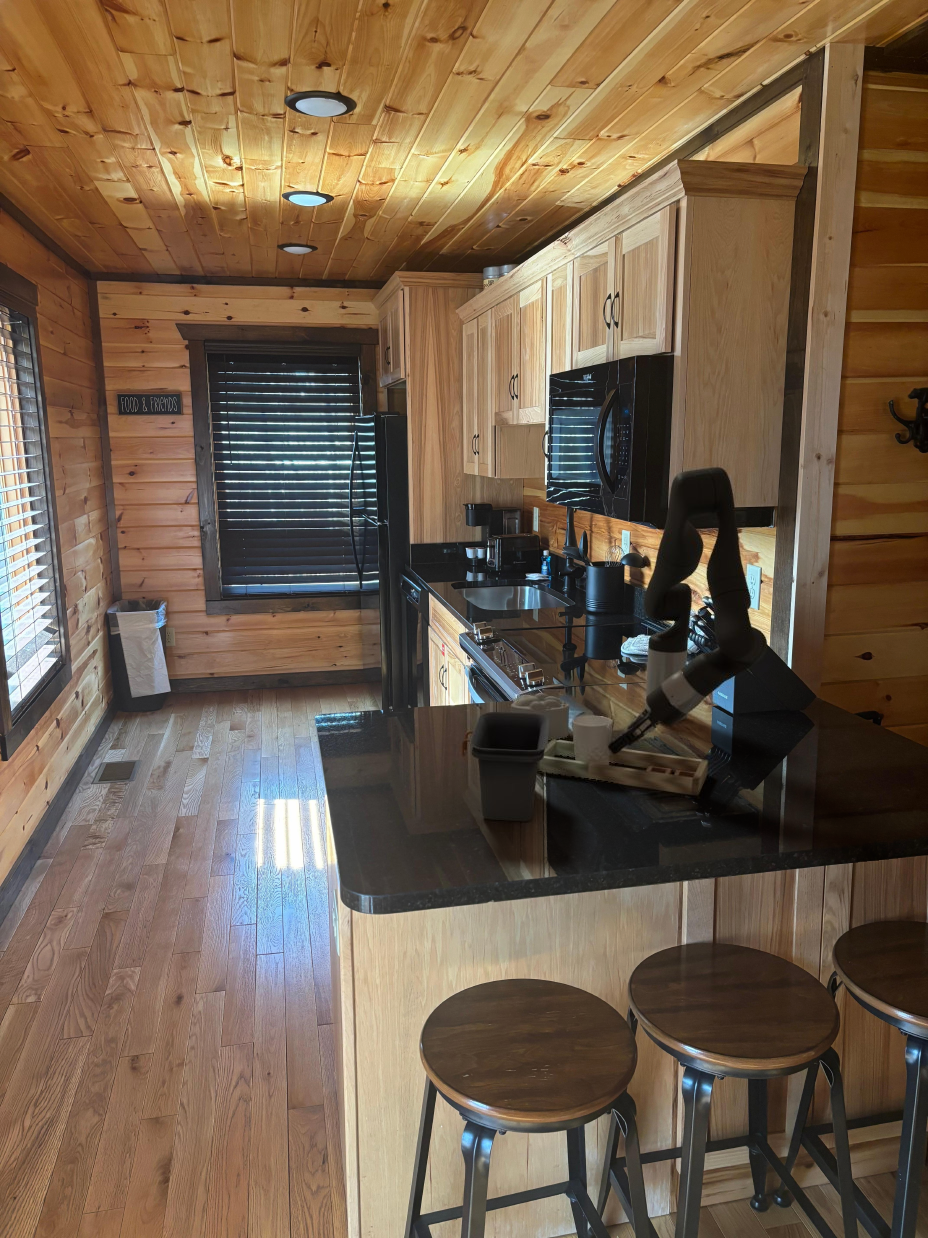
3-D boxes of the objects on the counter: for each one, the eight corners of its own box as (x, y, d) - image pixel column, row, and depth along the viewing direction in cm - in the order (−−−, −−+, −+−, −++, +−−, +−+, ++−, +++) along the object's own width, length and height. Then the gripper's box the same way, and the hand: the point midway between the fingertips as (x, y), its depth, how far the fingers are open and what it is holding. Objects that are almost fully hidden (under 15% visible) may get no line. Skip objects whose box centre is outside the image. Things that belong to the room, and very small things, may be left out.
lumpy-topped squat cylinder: (514, 725, 211) (515, 689, 209) (570, 729, 208) (571, 693, 207) (508, 738, 201) (509, 701, 199) (566, 743, 198) (567, 705, 197)
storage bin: (545, 830, 152) (547, 750, 149) (454, 825, 153) (455, 745, 151) (548, 785, 172) (550, 713, 170) (468, 781, 174) (469, 710, 172)
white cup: (602, 777, 176) (602, 728, 175) (566, 771, 180) (565, 723, 179) (617, 765, 183) (617, 718, 181) (582, 760, 187) (582, 713, 185)
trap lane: (707, 774, 179) (708, 760, 178) (697, 795, 168) (698, 780, 167) (552, 752, 191) (552, 739, 191) (534, 770, 180) (534, 756, 180)
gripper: (668, 675, 179) (606, 726, 186) (656, 690, 167) (591, 745, 174) (694, 703, 178) (631, 754, 185) (684, 721, 166) (617, 774, 173)
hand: (611, 749), depth 179 cm, fingers closed
